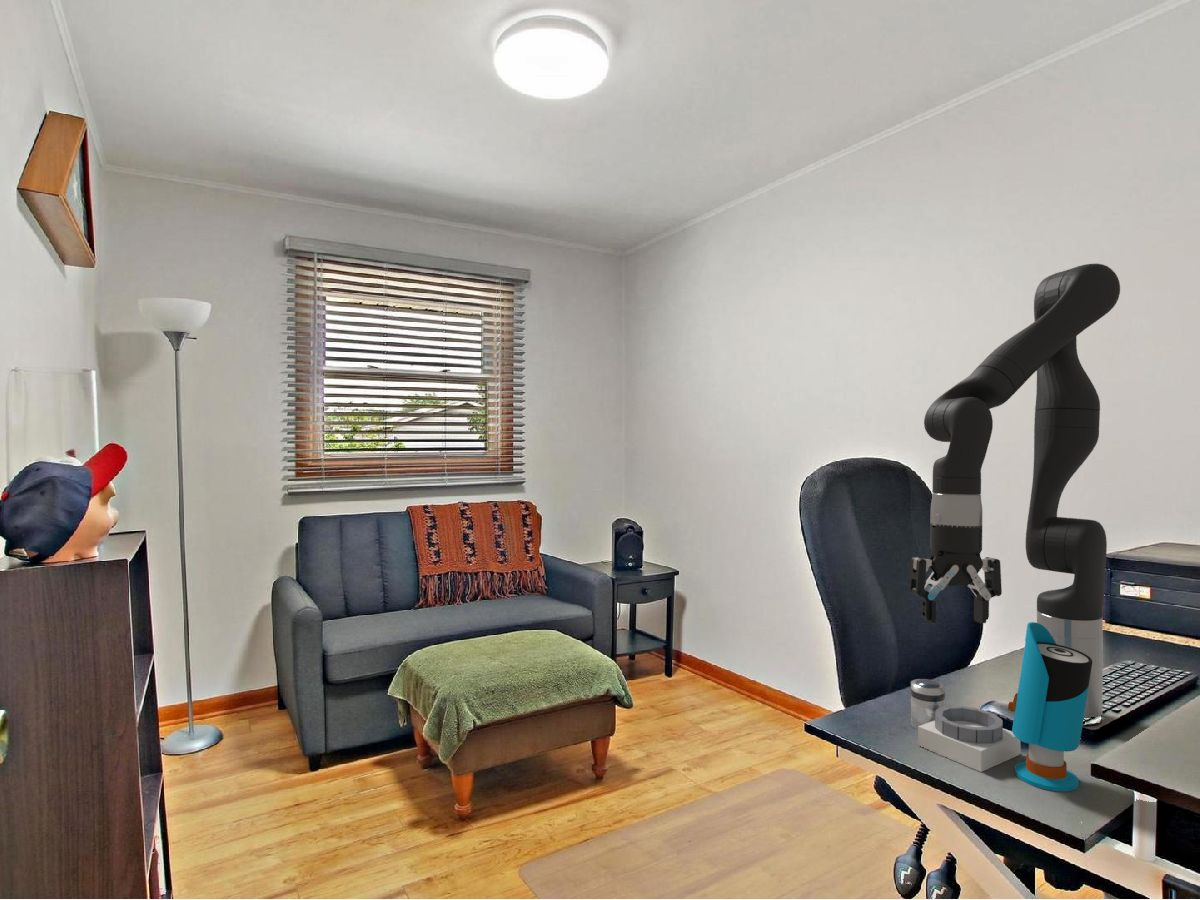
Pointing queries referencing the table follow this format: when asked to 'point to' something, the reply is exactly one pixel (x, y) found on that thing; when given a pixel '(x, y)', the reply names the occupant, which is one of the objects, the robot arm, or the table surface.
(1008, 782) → the table surface
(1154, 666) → the table surface
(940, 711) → the mount
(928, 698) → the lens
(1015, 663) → the table surface
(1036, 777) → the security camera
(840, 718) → the table surface
